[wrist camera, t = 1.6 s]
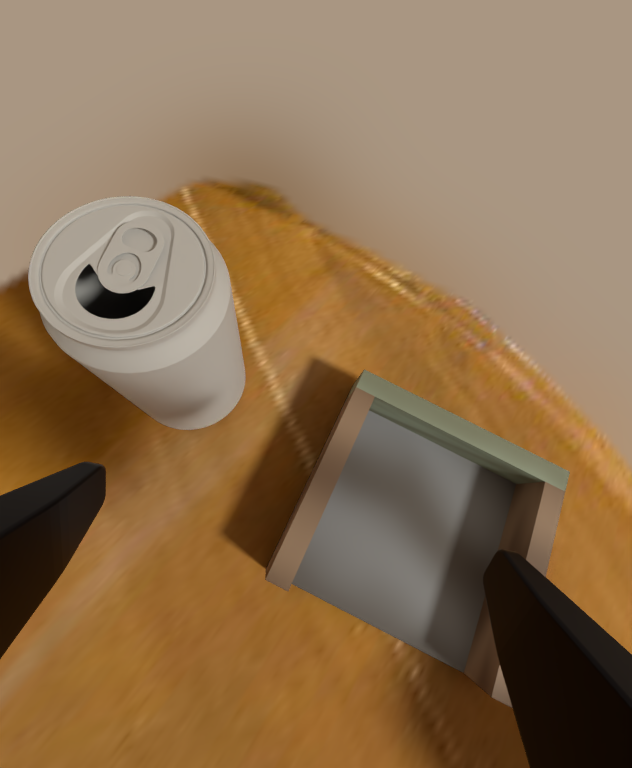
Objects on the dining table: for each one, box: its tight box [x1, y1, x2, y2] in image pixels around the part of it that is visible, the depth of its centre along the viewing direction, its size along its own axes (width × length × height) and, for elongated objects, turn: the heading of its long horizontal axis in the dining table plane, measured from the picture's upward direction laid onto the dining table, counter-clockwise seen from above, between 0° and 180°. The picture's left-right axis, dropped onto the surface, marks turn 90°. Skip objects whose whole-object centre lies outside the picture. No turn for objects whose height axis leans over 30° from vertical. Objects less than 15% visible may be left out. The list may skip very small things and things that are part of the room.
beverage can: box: [28, 196, 245, 430], centre depth 17 cm, size 6×6×12 cm
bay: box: [265, 370, 570, 708], centre depth 21 cm, size 12×13×3 cm
